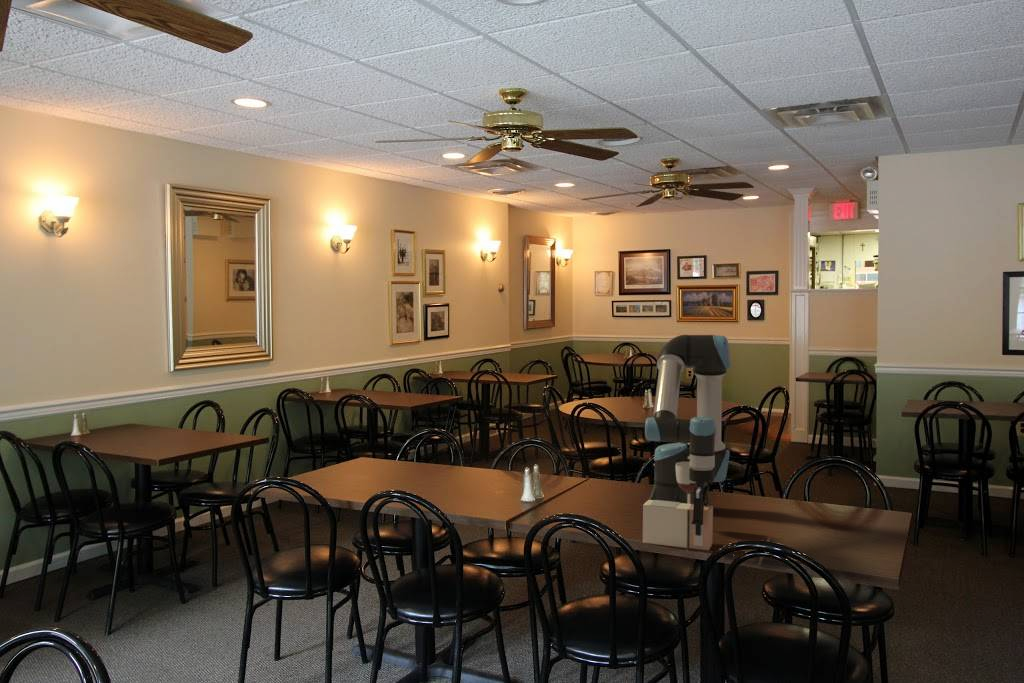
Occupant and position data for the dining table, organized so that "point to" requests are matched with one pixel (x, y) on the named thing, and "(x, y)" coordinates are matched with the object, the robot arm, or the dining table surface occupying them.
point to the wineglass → (684, 478)
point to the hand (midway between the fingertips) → (700, 541)
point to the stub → (706, 528)
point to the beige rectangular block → (666, 523)
